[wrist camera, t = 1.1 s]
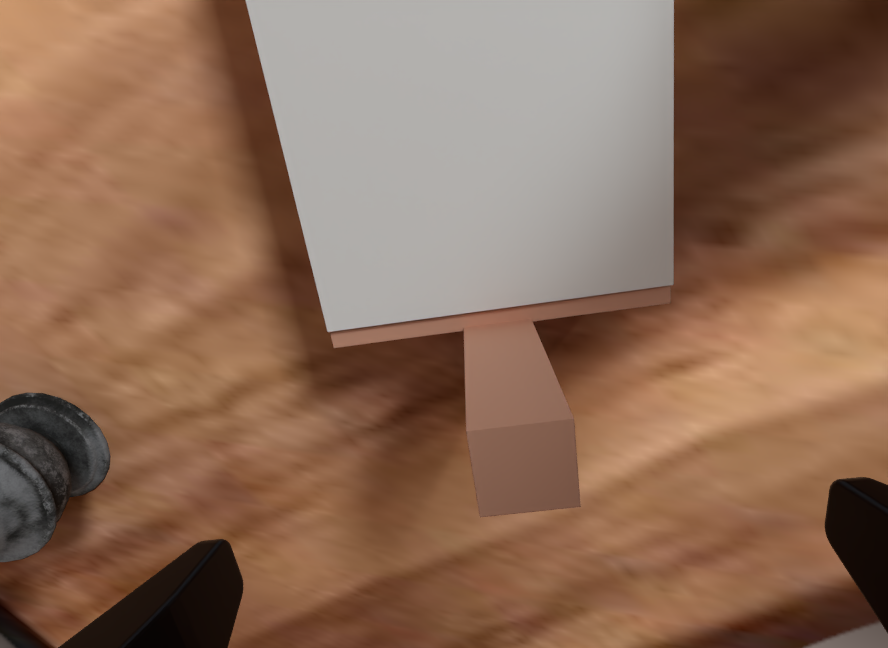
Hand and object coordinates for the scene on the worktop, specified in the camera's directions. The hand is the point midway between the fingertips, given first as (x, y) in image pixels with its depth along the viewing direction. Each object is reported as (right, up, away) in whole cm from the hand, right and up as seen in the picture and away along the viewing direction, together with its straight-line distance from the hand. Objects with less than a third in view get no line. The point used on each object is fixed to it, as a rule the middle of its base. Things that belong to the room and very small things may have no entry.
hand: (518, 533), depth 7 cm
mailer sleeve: (-1, +12, +9) cm, 15 cm away
